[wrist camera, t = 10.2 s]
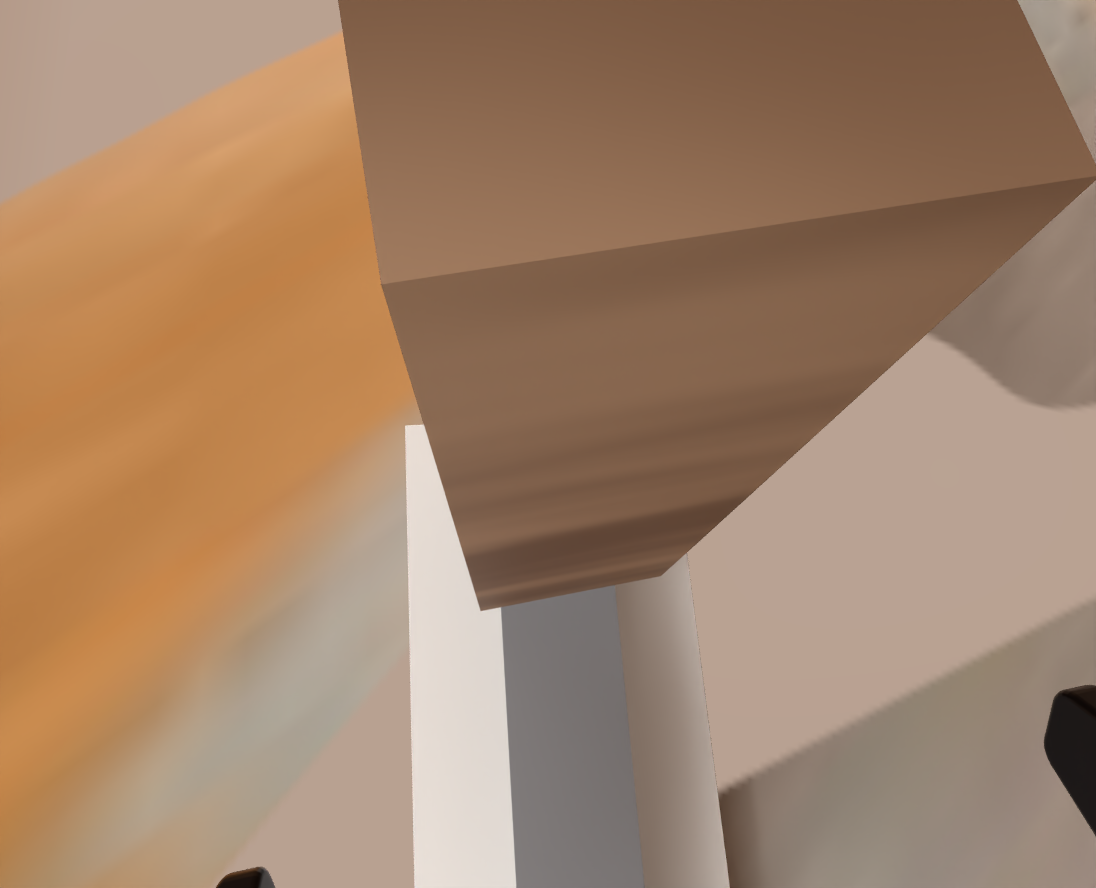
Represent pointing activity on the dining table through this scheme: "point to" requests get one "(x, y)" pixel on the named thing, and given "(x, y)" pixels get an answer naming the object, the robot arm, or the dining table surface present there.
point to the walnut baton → (677, 241)
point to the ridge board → (476, 713)
